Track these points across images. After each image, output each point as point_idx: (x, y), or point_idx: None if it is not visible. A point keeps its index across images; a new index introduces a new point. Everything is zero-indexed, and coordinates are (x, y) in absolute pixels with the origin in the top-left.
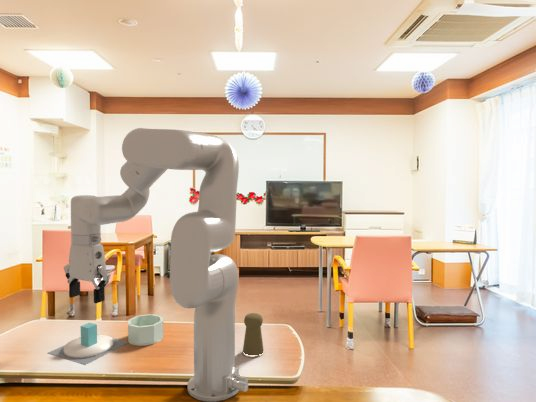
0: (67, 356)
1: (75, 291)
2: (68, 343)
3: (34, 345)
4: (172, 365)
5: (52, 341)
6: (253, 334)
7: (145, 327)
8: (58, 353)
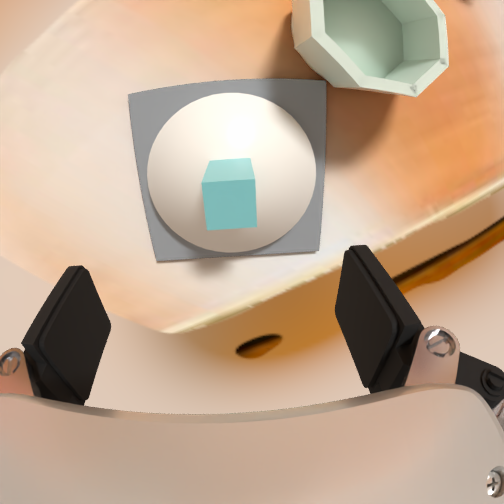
0: None
1: (88, 325)
2: (163, 211)
3: (74, 243)
4: (486, 154)
5: (81, 203)
6: None
7: (429, 82)
8: (186, 248)
